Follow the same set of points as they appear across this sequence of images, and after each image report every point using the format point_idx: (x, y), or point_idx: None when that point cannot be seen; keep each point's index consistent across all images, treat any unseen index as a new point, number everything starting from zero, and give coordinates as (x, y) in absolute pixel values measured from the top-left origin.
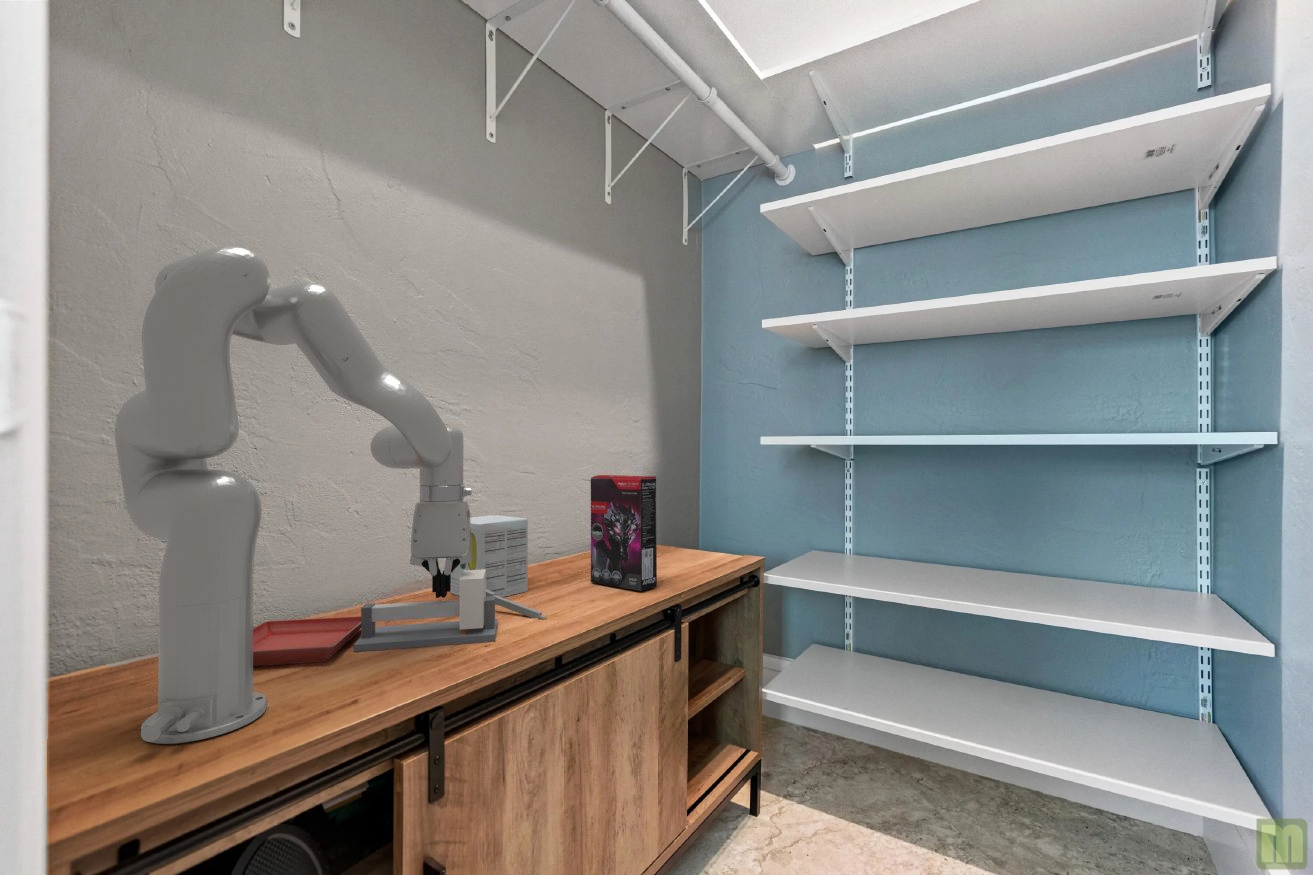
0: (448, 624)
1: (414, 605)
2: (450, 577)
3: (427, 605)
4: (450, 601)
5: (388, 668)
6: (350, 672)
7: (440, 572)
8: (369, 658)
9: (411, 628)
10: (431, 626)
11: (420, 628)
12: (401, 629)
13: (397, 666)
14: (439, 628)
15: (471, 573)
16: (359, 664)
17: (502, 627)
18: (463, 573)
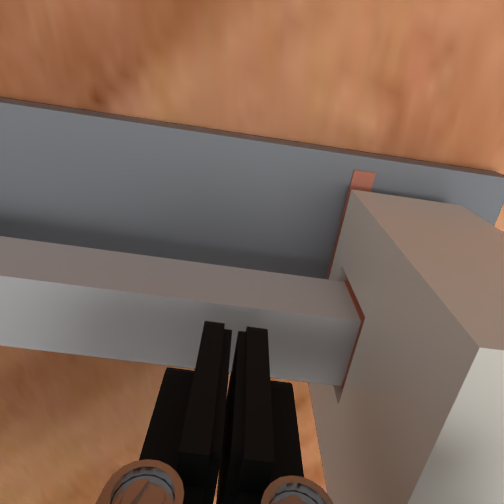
0: (270, 190)
1: (79, 351)
2: (298, 465)
3: (153, 359)
4: (283, 339)
5: (102, 464)
6: (7, 459)
7: (202, 499)
8: (22, 383)
9: (100, 193)
10: (191, 194)
11: (142, 208)
12: (55, 190)
13: (123, 460)
14: (228, 241)
15: (499, 498)
16: (9, 417)
17: (500, 220)
18: (430, 474)
